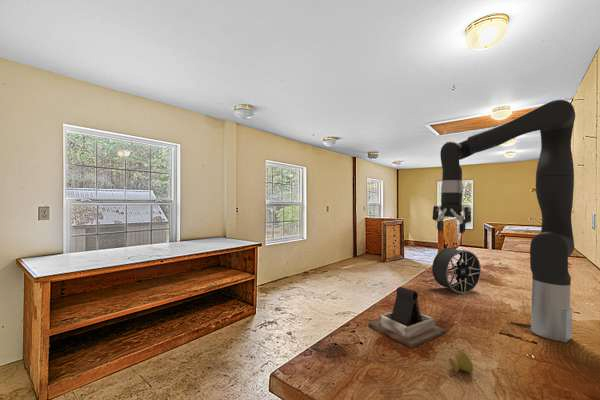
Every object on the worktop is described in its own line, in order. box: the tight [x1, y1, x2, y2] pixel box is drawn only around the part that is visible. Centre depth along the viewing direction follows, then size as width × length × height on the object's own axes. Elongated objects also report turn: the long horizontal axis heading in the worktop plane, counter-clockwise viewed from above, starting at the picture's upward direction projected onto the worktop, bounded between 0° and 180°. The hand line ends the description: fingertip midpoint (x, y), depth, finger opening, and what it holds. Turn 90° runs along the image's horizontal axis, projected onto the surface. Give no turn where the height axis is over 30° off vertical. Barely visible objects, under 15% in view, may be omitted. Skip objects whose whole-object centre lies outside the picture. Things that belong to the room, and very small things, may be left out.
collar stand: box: [368, 310, 447, 349], centre depth 90 cm, size 16×18×4 cm
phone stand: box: [391, 286, 422, 327], centre depth 90 cm, size 9×6×12 cm, turn 122°
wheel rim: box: [431, 247, 482, 294], centre depth 134 cm, size 20×9×20 cm, turn 105°
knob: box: [448, 349, 474, 374], centre depth 68 cm, size 5×5×5 cm
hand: (450, 232), depth 112 cm, fingers open, 8 cm apart
